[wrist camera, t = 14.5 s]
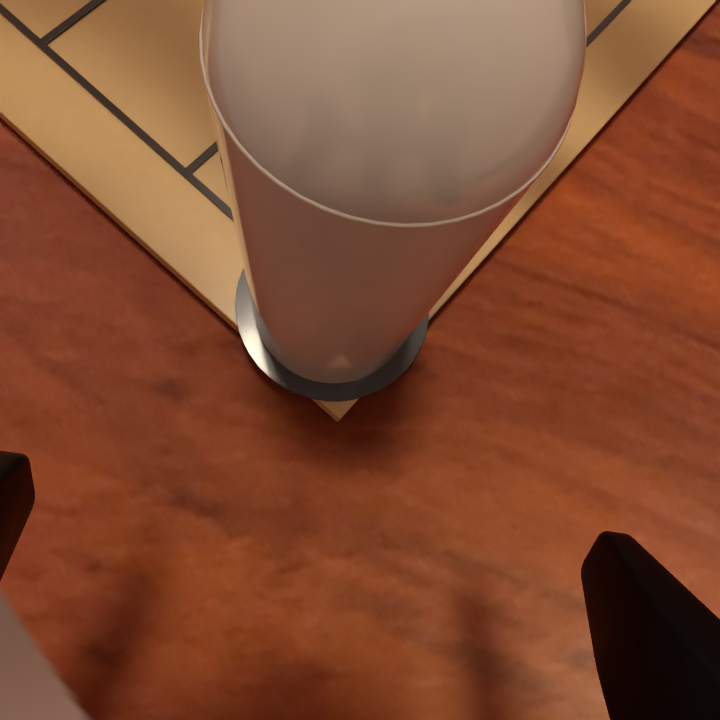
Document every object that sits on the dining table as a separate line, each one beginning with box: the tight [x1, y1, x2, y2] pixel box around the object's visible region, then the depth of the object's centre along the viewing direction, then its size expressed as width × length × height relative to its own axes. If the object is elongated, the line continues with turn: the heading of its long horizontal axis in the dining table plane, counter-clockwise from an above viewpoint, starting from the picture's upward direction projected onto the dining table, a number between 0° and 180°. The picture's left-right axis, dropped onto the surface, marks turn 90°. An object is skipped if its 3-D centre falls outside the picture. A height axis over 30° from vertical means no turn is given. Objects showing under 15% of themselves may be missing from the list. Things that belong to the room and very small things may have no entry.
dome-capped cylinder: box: [199, 0, 587, 384], centre depth 12 cm, size 5×5×13 cm
